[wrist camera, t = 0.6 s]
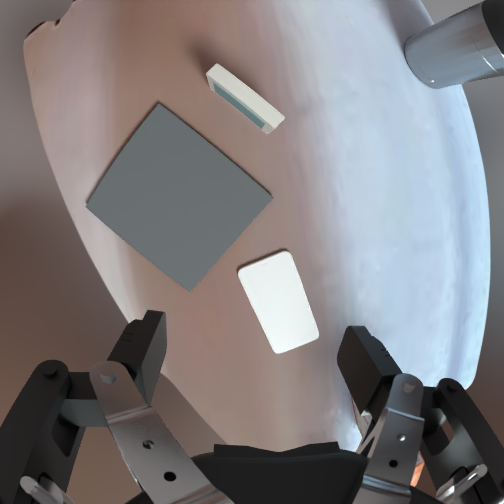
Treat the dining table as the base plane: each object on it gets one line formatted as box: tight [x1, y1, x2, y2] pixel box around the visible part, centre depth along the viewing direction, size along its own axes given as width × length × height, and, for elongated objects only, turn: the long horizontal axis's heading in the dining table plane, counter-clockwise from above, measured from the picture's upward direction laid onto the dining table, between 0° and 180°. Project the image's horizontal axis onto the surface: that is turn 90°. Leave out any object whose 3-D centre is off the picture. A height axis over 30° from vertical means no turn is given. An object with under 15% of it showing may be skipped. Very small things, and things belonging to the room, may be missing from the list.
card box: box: [206, 63, 285, 135], centre depth 27 cm, size 2×9×6 cm, turn 48°
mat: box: [86, 104, 273, 292], centre depth 32 cm, size 16×18×1 cm
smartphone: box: [238, 251, 319, 353], centre depth 38 cm, size 7×1×15 cm
